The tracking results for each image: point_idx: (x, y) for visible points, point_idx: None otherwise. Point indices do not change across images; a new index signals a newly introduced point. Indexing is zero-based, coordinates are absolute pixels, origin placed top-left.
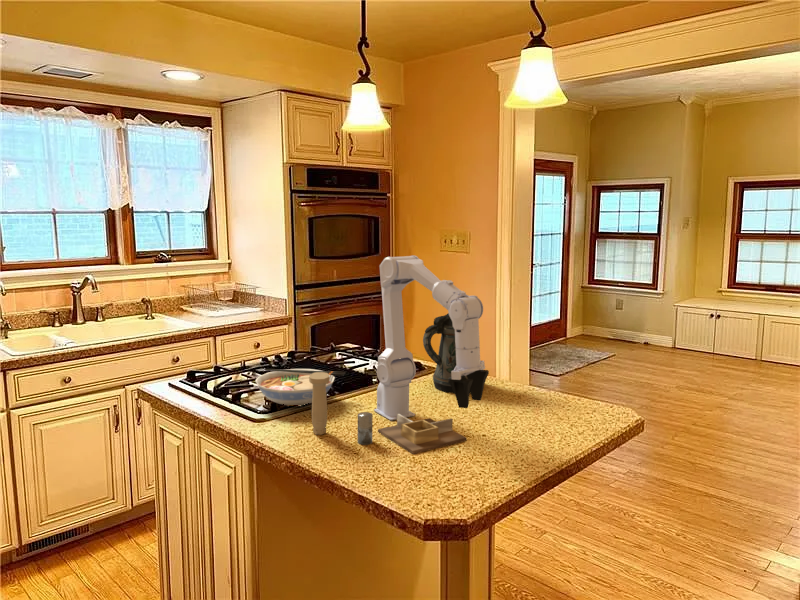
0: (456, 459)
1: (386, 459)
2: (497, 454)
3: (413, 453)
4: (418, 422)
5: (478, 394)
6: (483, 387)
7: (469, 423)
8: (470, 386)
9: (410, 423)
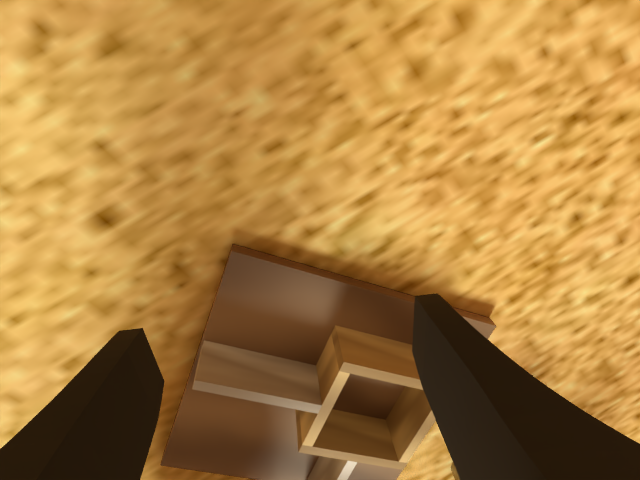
0: (450, 165)
1: (569, 349)
2: (277, 28)
3: (486, 318)
4: (332, 445)
5: (128, 384)
6: (26, 427)
7: (35, 344)
8: (550, 463)
9: (371, 455)
